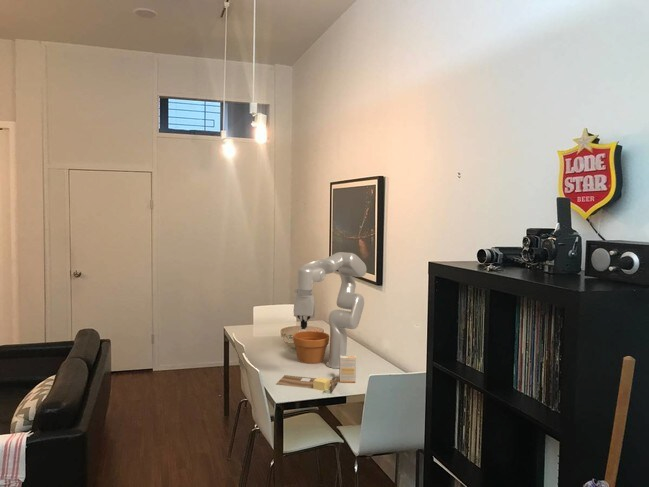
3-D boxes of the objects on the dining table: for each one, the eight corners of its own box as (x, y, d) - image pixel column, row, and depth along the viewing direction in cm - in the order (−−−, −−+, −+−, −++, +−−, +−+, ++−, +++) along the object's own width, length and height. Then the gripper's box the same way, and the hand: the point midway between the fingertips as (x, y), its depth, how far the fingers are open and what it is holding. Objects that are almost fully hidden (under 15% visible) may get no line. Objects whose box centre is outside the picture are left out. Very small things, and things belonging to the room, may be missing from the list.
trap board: (284, 377, 264) (284, 371, 264) (337, 383, 258) (337, 376, 258) (275, 387, 249) (275, 380, 249) (331, 393, 243) (331, 386, 243)
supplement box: (354, 379, 264) (355, 355, 264) (355, 383, 260) (356, 357, 259) (338, 379, 264) (339, 354, 263) (339, 382, 259) (340, 357, 259)
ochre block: (318, 385, 250) (318, 377, 250) (329, 387, 248) (330, 379, 248) (313, 388, 245) (313, 380, 245) (324, 391, 242) (324, 382, 242)
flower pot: (324, 367, 285) (325, 341, 284) (288, 363, 289) (288, 338, 288) (331, 356, 305) (332, 332, 304) (297, 353, 309) (298, 329, 309)
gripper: (288, 292, 255) (287, 329, 256) (317, 294, 252) (316, 331, 253) (292, 290, 262) (291, 325, 264) (320, 292, 259) (319, 328, 260)
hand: (303, 328), depth 258 cm, fingers closed
